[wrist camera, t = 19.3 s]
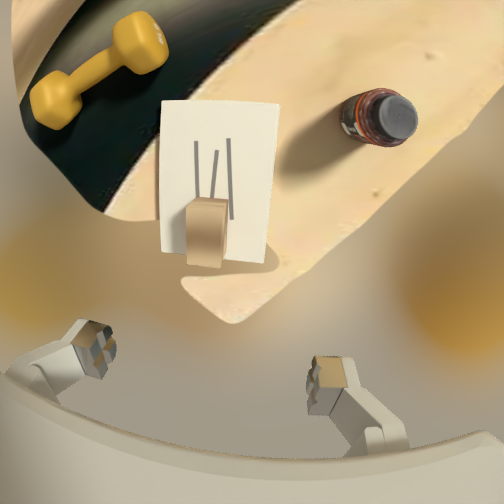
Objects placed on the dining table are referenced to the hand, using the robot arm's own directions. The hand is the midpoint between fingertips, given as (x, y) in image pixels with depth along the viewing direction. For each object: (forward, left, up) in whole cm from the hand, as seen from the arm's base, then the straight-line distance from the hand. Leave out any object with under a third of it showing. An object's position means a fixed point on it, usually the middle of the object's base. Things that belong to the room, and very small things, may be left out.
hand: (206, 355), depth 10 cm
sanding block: (+4, -5, -26) cm, 26 cm away
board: (-1, -5, -27) cm, 28 cm away
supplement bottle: (-11, +12, -27) cm, 32 cm away
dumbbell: (-16, -21, -28) cm, 38 cm away
